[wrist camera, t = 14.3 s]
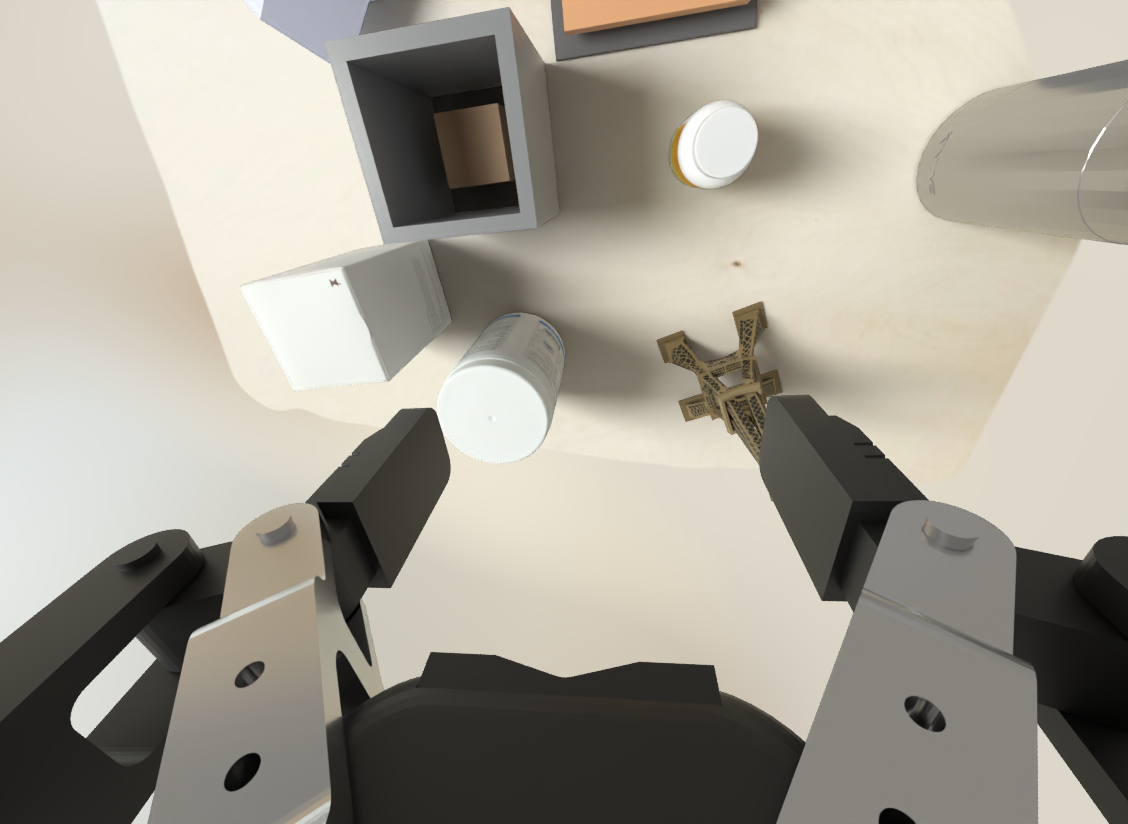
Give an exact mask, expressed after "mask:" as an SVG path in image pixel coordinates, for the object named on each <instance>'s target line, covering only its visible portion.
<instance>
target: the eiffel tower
mask: <svg viewBox="0 0 1128 824" xmlns="http://www.w3.org/2000/svg"><path fill="white" fill-rule="evenodd" d="M732 313H733V317H734V320H735V324H736V328H737V332H738V335H739V350H737V351H736V352H734V353H732V354H730V355H728V356H726V357H724V358H721V359H718V360H712V361H707V362H701V360H700V359H699V358H698V357H697V356H696V355H695V353H694V352H693V351H692V350H691V349H690V348H689V346H688V345H687V343H686V340H685V337H684V334H683V331H680V332H677V333H674V334H672V335H669V336H666V337H664V338H661V339H658V340H657V343H658V346H659V348H660V351H661V354H662V357H663V360H664V362H665V363H667V362H669V363H673V364H676V365H678V366H681V367H683V368H686V369H688V370H691V371H693V372H694V373H695V374H696V375H697V378H698V381H699V384H700V387H701V390H702V393H703V394H699V395H696V396H693V397H690V398H687V399H684V400H681V401H679V404H680V407H681V410H682V413H683V415H684V418H685V421H686V422H687V421H690V420H694V419H697V418H700V417H703V416H707V415H711V418H712V420H714V419H716V418H721V419H722V420H724V422H725V425H726V428H727V431H728V433H730V434H731V435H733V434H735V433H737V434H738V436H739V437H740V438H741V440H742V441H743V443H744V444H745V446H746V447H747V448H748V450H749V451H750V453H751V454H752V456H753V457H754V458H755V460H756V461H757V463H758V464H759V453H760V446H761V440H762V433H763V427H764V421H765V414H766V407H765V404H767V400H766V397H769V396H772V395H775V394H779V393H782V388H781V384H780V379H779V375H778V371H777V370H774V371H771V372H768V373H765V374H762V375H760V372H759V368H758V364H757V360H756V356H753V353H754V346H755V345H756V343H757V341H758V339H759V337H760V335H761V333H762V331H763V330H764V328H767V323H766V319H765V315H764V310H763V306H762V302H758V303H756V304H753V305H750V306H747V307H745V308H742V309H739V310H737V311H734V312H732ZM739 370H742V379H743V384H740V385H737V386H733V387H730V388H727V387H726V386H725V385H724V384H723V383H722V382H721V381H720V380H718V379H717V377H720V376H723V375H726V374H729V373H732V372H735V371H739ZM755 428H756V429H755ZM756 430H757V431H756ZM769 495H770V494H769ZM770 498H771V496H770ZM771 501H773V500H772V498H771Z"/></svg>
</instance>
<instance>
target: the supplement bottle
mask: <svg viewBox="0 0 1128 824" xmlns="http://www.w3.org/2000/svg"><path fill="white" fill-rule="evenodd" d="M757 143H758V128H757V125H756V122H755V120H754V118H753V116H752V115H751V113H750V112H749V111H748V110H747V109H746V108H745V107H744V106H743V105H741V104H739V103H737V102H735V101H731V100H718V101H714V102H711V103H709V104H707V105H705V106H703V107H701V108H700V109H699V110H697V111H696V112H695V113H693V114H692V115H691V116H690V117H688V118H687V119H686V120H685V121H684V122H683V123H682V124H681V125H680V126H679V127H678V129H677V130H676V132H675V133H674V135H673V137H672V140H671V143H670V147H669V164H670V168H671V170H672V172H673V174H674V176H675V177H676V178H677V179H678V180H679V181H680V182H681V183H683V184H685V185H687V186H691V187H698V188H704V189H714V188H720V187H723V186H726V185H728V184H730V183H731V182H733V181H735V180H736V179H737V178H738V177H739V176H740V175H741V174H742V173H743V172H744V171H745V170H746V169H747V167H748V166H749V164H750V162H751V160H752V158H753V156H754V153H755V150H756V147H757Z"/></svg>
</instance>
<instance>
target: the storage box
mask: <svg viewBox="0 0 1128 824" xmlns="http://www.w3.org/2000/svg"><path fill="white" fill-rule="evenodd" d="M324 43H325V46H326V49H327V53H328V56H329V60H330V63H331V66H332V70H333V73H334V77H335V80H336V83H337V87H338V90H339V93H340V97H341V100H342V104H343V107H344V110H345V114H346V117H347V121H348V124H349V127H350V131H351V134H352V137H353V141H354V144H355V148H356V151H357V154H358V158H359V161H360V164H361V168H362V171H363V175H364V178H365V181H366V185H367V188H368V192H369V195H370V198H371V202H372V205H373V208H374V212H375V215H376V219H377V222H378V225H379V229H380V232H381V236H382V239H383V242H384V245H385V244H394V243H403V242H413V241H422V240H431V239H440V238H449V237H459V236H468V235H477V234H486V233H496V232H505V231H514V230H523V229H533V228H538V227H540V226H541V225H543V224H544V223H545V222H547V221H548V220H550V219H551V218H553V217H554V216H556V215H557V214H559V213H560V210H559V200H558V190H557V180H556V170H555V161H554V151H553V141H552V131H551V122H550V112H549V102H548V92H547V82H546V73H545V63H544V61H543V60H542V58H541V57H540V55H539V54H538V52H537V50H536V49H535V47H534V46H533V44H532V42H531V41H530V39H529V38H528V36H527V35H526V33H525V31H524V30H523V28H522V27H521V25H520V23H519V22H518V20H517V19H516V17H515V16H514V14H513V12H512V11H511V9H510V8H509V7H506V8H501V9H496V10H490V11H485V12H480V13H474V14H469V15H464V16H459V17H453V18H448V19H443V20H437V21H432V22H427V23H422V24H416V25H411V26H406V27H400V28H395V29H390V30H384V31H379V32H374V33H369V34H363V35H358V36H353V37H347V38H342V39H337V40H331V41H326V42H324ZM497 86H502V89H503V96H504V103H505V110H506V117H507V124H508V131H509V138H510V145H511V152H512V159H513V166H514V173H515V180H516V186H517V193H518V200H519V206H511V207H502V208H494V209H485V210H477V211H468V212H459V213H455V208H454V203H453V198H452V194H451V189H449V184H448V179H447V175H446V170H445V166H444V161H443V157H442V152H441V147H440V143H439V138H438V134H437V129H436V125H435V120H434V116H433V114H434V108H433V104H432V99H431V97H435V96H441V95H447V94H454V93H460V92H466V91H472V90H478V89H485V88H491V87H497Z"/></svg>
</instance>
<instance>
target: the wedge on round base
mask: <svg viewBox="0 0 1128 824" xmlns="http://www.w3.org/2000/svg"><path fill="white" fill-rule="evenodd" d="M369 1H375V0H244V2H245V3H246V4H247V5H248V6H249V7H250V8H251V10H252V11H253V12H254V13H255V14H256V15H257V16H258V18H259V19H260V20H262V21H263V22H265V23H267V24H268V25H270V26H271V27H273V28H274V29H276V30H278V31H279V32H281V33H282V34H284V35H286V36H287V37H289V38H290V39H292V40H293V41H295V42H297V43H298V44H300V45H301V46H303V47H305V48H306V49H308V50H309V51H311V52H312V53H314V54H316V55H317V56H319V57H320V58H322V59H324V60H325V61H327V62H328V63H330V60H329V56H328V53H327V49H326V46H325V43H324V42H326V41H331V40H337V39H342V38H347V37H353V36H358V35H359V33H360V30H361V27H362V23H363V20H364V17H365V13H366V10H367V7H368V3H369ZM330 64H331V63H330Z"/></svg>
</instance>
